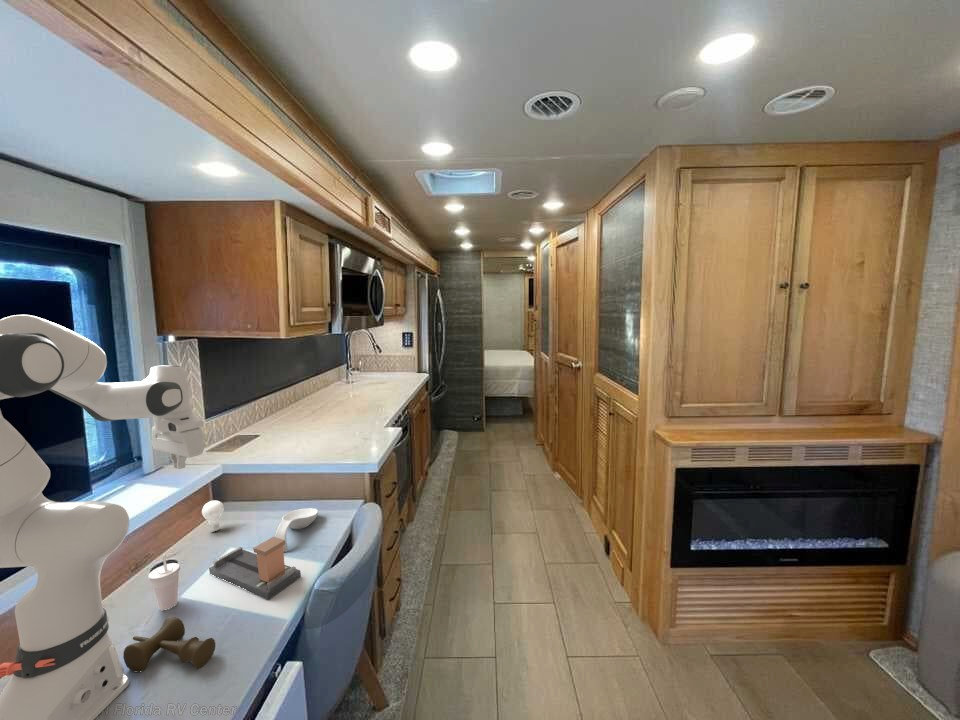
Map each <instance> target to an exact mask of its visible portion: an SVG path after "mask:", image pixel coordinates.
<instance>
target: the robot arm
mask: <svg viewBox="0 0 960 720" xmlns="http://www.w3.org/2000/svg"><path fill="white" fill-rule="evenodd" d="M107 364H108V361H107V355H106V353H105V351H104V350H103V349H102V348H101V347H100V346H98V345H97V344H96V343H95V342H93V340H92V341H91V339H88V338H86V337H85V336H83V335H81V334H80V333H77V332H75V331H73V330H71V329H69V328H66V327H65V326H62V325H60V324H59V323H58V324H57V323H55V322H52V321H49V320H47V319H45V318H41V317H38V316H35V315H30V314H16V315H15V314H14V315H10V316H7V317H3V318H1V319H0V400H4V399H10V398H11V399H12V398H24V397H30V396H33V395H37V394H41V393H43V392H46V391H51V392H52V393H54V394H55V395H59V396H60V397H61V398H64V399H66V400H68V401H70V402H72V403H74V404H76V405H77V406H80V407H81V408H82V409H84V411H85V412H86V413H87V414H88V415H90V417H92V418H93V419H95V420H96V421H99V422H112V421H120V420H135V419H136V420H137V419H149V418H150V419H151V418H152V419H153V426H152V427H151V446H152V448H153V451H156V452H157V451H158V452H162V453H167V454H168V457H169V459H170V461H171V462H172V467H173V468H174V469H179V470H182V469H185V468H186V461H187V458H194V457H198V456H200V455H202V454H203V453H204V449H205V448H204V444H205V443H204V435H203V430H202V429H201V428H202V427H203V426H204V424H203V420H202V418H199V417H198V416H197V415H196V414H195V413H194V412H193V410H192V409H193V407H192V405H191V403H190V397H191V396H190V395H191V391H190V385H189V379H188V376H187V372H186V370H185V368H184V367H182V366H180V365H176V364H175V365H169V364H167V365H154V366H152V367H150V369H149V374H148V376H146V378H144V379H143V380H141V381H125V382H124V381H123V382H99V380H100V379H101V378H102V377H103V375H104V373H105V372H106V370H107V369H106V368H107V366H108V365H107ZM50 479H51V470H50V467H48V465H47V464H46V463H45V461H43V458H41V457H40V455H39V454H38V453H37V452H36V451H35V449H34V448H33V447H32V446H31V444H30V443H29V442H28V441H27V440H26V439H25V437H24V436H23V435H22V434H21V433H20V432H19V431H18V430H17V429H16V427H14V426H13V425H12V424H11V423H10V422H9V421H8V420H7V419H6V418H4V416H3V414H2V410H1V409H0V569H4V568H21V567H22V568H23V567H25V568H26V567H33V568H35V570H36V572H37V580H36V584H35V585H34V586H32V587H31V588H30V589H28V590H27V591H26V592H25V593H24V594H23V595H22V596H21V597H20V598H19V600H18V601H17V603H16V605H15V608H14V615H15V616H14V617H15V620H16V621H15V622H16V628H17V633H18V638H19V644H18V645H17V648H16V653H15V658H14V661H13V662H7V661H6V662H3V663H0V678H2V677H5V676H9V677H10V676H11V677H10V679H8V682H7V683H6V685H5V687H4V688H3V689H2V691H1V692H0V720H95V719H96V718H97V717H98V716H99V715H100V714H101V713H102V712H103V711H104V710H105V709H106V708H107V707H108V706H109V705H110V704H111V703H112V702H113V701H114V700H115V699H116V698H117V697H118V696H119V695H120V694H121V693H122V692H123V691H124V690H125V689H126V688H127V687H128V686H129V685H130V679H129V676H128V675H126V674H125V673H124V667H123V664H121V662H120V658H119V655H118V653H117V648H116V646H115V644H114V643H113V641H112V640H111V638H110V636H109V633H108V630H109V627H110V626H109V616H108V615H107V610H106V608H104V607H103V600H102V599H103V598H102V591H101V590H102V589H101V575H102V574H101V573H102V570H103V566H104V563H105V562H106V560H107V559H108V557H109V556H110V555H111V554H112V553H113V552H115V551H116V550H117V549H118V548H119V547H120V546H121V544H122V543H123V542H124V540H125V539H126V537H127V535H128V532H129V529H130V517H129V513H128V512H127V510H126V509H125V508H124V507H123V506H122V505H119V504H115V503H111V502H105V501H99V500H82V501H78V500H77V501H62V502H61V501H55V500H52V499H51V500H50V499H48V498H47V497H46V496H44V494H43V491H44V489H45V488H46V486H47V485H48V483H49V480H50Z"/></svg>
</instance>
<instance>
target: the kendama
mask: <svg viewBox="0 0 960 720" xmlns="http://www.w3.org/2000/svg"><path fill="white" fill-rule="evenodd" d="M185 631H186V630H185V625H184V623H183V621H182V620H181V619H180V618H179V617H176V616H169V617H167V618H166V619H165V620H164V621H163V624H161V627H160V628H159V629H158V631H157V632H156V633H154V634H153V635H152V636H150V637H145V636H144V637H143V636H133V637H132V640H134V641H136V642H134V643H131V644H129V645H126V647H125V648H124V650H123V662H124V664H125V666H126V667H127V668H128V669H129V670H130V671H132V672H134V671H137V672H136V673H141V672H140V671H142V672H143V671H145V670H146V669H147V667H148V665H149V663H150V661H151V659H152V657H153V656H154V654H155V653H157V651H159V650H160V649H163V650H166V651H168V652H170V653H172V654H174V655H176V656H178V661H179V662H180V663H182V664H183V663H187V662H191V663H192V666H193V668H195V669H199V668H202V667H204V666H205V665H207V664H208V663H209V661H210V660H211V658H212V657H213V655H214V653H215V650H216V646H217V645H216V640H215V639H214V638H213V637H208V638H206V639H204V640H200V639H199V637H198V636H194V637H191V638H190V639H188V640H182V639H183V637H184V636H185V633H186V632H185ZM177 640H178V641H177Z"/></svg>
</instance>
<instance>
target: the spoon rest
mask: <svg viewBox="0 0 960 720" xmlns="http://www.w3.org/2000/svg"><path fill="white" fill-rule="evenodd" d="M318 515H319V510H318V509H317V508H314V507H308V508H305V507H304V508H299V509H295V510H291V511H290V512H287V513H286V514H284V515H283V516H282V517H281V521H280V523H279V525H278V526H277V529H276V532H275V535H274V537H276V538H279V539H283V540H285V545H283V553H286V552H288V549H289V548H288V543H287V532H288V530H289V528H291V529H293V530H300V529H304V528H306V527H308V526H310V525H311V524H312V523H313V522H314V521H315V520H316V519H317V517H318Z"/></svg>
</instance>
